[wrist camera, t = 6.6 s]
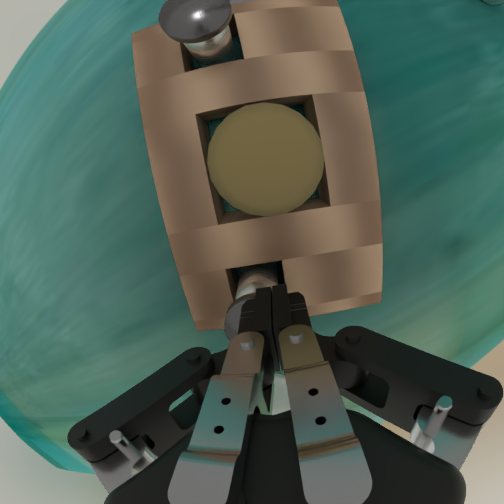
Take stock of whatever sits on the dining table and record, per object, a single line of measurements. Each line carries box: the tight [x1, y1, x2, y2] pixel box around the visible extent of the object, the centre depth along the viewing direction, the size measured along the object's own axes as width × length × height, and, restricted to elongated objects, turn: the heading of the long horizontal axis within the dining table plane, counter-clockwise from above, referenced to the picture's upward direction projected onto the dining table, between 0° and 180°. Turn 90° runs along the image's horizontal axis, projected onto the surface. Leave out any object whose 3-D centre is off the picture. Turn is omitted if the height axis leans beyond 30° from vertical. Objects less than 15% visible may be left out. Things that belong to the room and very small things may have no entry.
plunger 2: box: [224, 262, 279, 341], centre depth 19 cm, size 4×4×8 cm
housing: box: [131, 0, 383, 331], centre depth 19 cm, size 15×24×4 cm, turn 10°
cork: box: [207, 102, 325, 217], centre depth 15 cm, size 6×6×11 cm
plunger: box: [159, 0, 236, 68], centre depth 13 cm, size 4×4×8 cm
